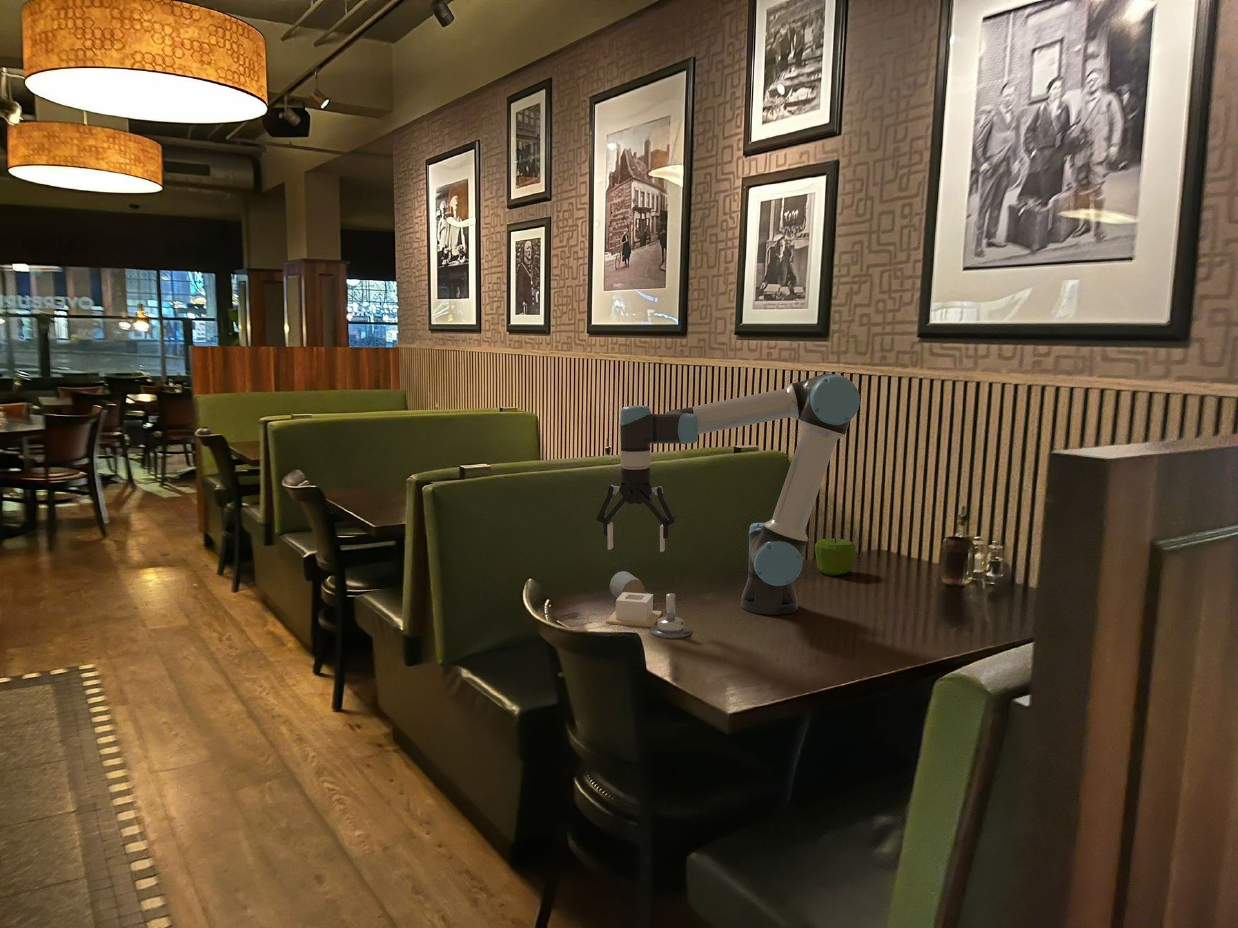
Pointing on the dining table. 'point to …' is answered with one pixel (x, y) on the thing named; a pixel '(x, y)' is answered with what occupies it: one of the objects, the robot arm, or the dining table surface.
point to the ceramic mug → (625, 584)
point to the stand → (670, 623)
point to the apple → (834, 556)
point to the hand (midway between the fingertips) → (636, 549)
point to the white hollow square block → (634, 606)
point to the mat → (649, 623)
